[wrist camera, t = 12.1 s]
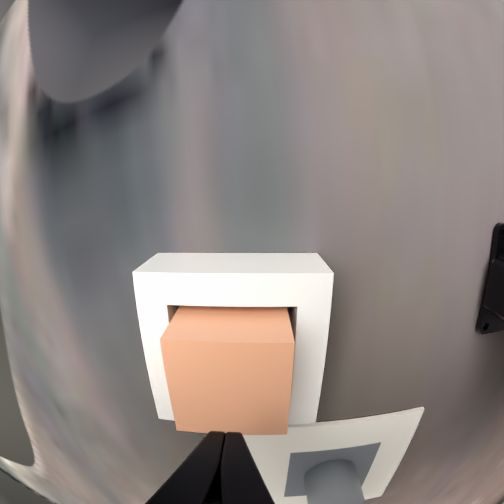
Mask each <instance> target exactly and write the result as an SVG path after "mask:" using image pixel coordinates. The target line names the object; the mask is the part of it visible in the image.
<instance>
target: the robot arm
mask: <svg viewBox="0 0 504 504" xmlns="http://www.w3.org/2000/svg"><path fill="white" fill-rule="evenodd" d="M501 231H502V234H501ZM477 330H478V331H479V332H480V333H481V334H488V333H492V332H497V331H501V330H504V223H498V224H497V225H496V227H495V230H494V237H493V246H492V253H491V260H490V267H489V273H488V278H487V284H486V289H485V293H484V298H483V303H482V307H481V311H480V315H479V319H478V323H477ZM145 504H275V503H274V501H273V499H272V497H271V495H270V493H269V491H268V489H267V487H266V484H265V482H264V480H263V478H262V476H261V474H260V472H259V470H258V468H257V466H256V463H255V461H254V459H253V457H252V455H251V453H250V450H249V448H248V446H247V444H246V441H245V439H244V437H243V435H242V433H241V432H226V433H225V432H223V431H210V432H209V433H208V434H207V435H206V436H205V437H204V438H203V440H202V441H201V442H200V443H199V444H198V446H197V447H196V448H195V449H194V450H193V451H192V453H191V454H190V455H189V456H188V457H187V458H186V460H185V461H184V462H183V463H182V464H181V465H180V466H179V467H178V469H177V470H176V471H175V472H174V473H173V474H172V475H171V476H170V478H169V479H168V480H167V481H166V482H165V483H164V484H163V485H162V486H161V487H160V488H159V489H158V491H157V492H156V493H155V494H154V495H153V496H152V497H151V498H150V499H149V500H148V501H147V502H146V503H145Z"/></svg>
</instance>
